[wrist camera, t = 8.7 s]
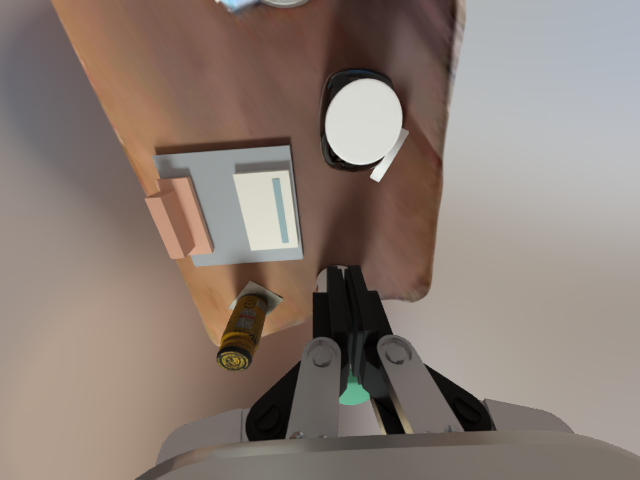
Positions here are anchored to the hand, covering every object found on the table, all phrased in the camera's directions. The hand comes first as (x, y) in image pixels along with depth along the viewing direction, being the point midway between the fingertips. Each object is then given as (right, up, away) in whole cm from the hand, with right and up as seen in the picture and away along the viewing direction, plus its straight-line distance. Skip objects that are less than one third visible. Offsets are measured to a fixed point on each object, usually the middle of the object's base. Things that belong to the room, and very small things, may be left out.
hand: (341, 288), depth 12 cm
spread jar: (+4, +17, +19) cm, 26 cm away
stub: (-21, +6, +23) cm, 32 cm away
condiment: (-14, -10, +33) cm, 37 cm away
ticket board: (-14, +7, +24) cm, 29 cm away
